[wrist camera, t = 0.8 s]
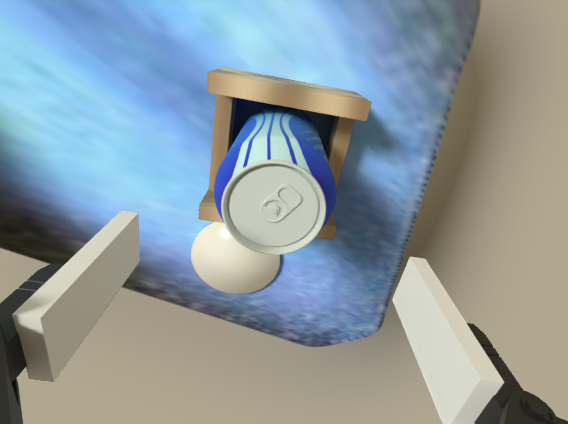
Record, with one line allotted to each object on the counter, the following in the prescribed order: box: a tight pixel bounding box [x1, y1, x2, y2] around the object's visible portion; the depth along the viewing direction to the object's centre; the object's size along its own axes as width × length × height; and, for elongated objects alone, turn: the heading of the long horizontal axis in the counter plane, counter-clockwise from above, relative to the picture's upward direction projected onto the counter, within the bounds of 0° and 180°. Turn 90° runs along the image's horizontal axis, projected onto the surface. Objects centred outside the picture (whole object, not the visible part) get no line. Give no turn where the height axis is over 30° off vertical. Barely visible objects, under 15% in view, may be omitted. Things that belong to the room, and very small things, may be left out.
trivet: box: [191, 222, 280, 294], centre depth 41 cm, size 11×11×1 cm
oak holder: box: [199, 67, 372, 240], centre depth 32 cm, size 13×13×7 cm
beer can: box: [214, 106, 336, 255], centre depth 28 cm, size 8×8×16 cm
